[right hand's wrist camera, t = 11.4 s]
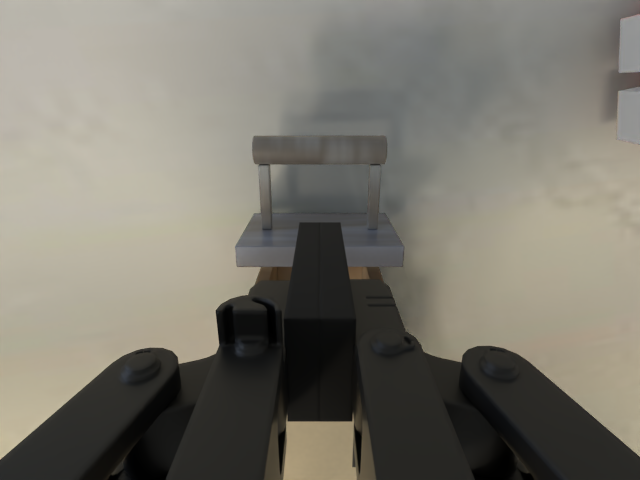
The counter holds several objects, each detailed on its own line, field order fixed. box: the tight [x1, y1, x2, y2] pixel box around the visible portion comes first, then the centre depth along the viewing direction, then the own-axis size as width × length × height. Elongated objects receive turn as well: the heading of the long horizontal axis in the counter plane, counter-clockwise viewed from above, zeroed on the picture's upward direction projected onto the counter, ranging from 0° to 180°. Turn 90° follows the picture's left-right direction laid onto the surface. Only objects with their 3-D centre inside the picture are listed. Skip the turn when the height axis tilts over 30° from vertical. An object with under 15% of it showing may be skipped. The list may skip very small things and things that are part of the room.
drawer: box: [235, 136, 404, 285], centre depth 26 cm, size 25×9×6 cm, turn 0°
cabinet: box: [283, 418, 357, 480], centre depth 30 cm, size 21×10×8 cm, turn 0°
